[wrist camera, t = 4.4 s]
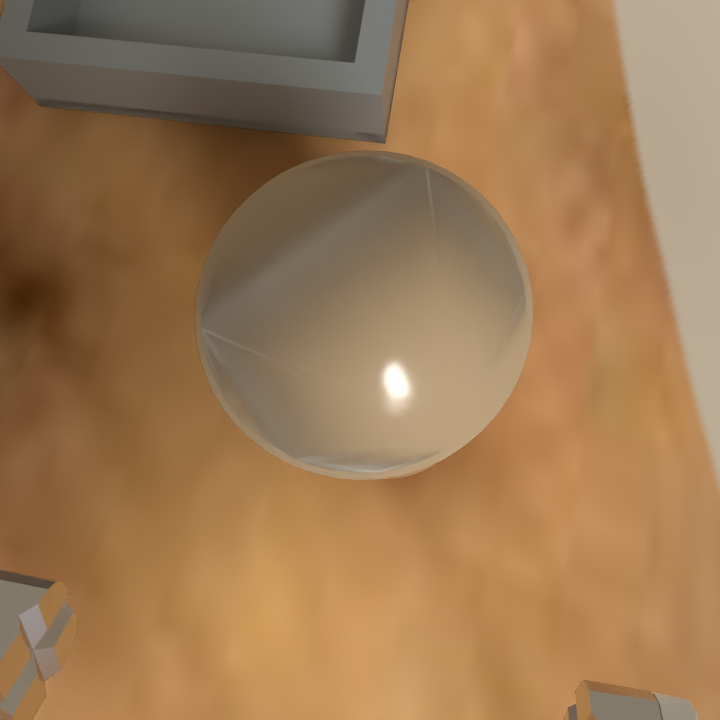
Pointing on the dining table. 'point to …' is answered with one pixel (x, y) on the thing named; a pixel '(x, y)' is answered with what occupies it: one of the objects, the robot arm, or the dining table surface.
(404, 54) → the dining table surface
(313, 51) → the tray
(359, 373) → the tube
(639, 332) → the dining table surface
